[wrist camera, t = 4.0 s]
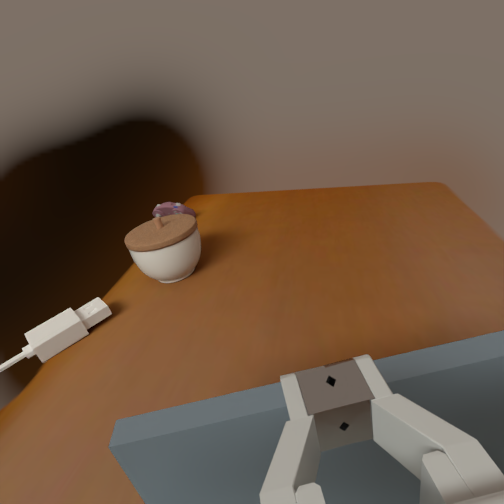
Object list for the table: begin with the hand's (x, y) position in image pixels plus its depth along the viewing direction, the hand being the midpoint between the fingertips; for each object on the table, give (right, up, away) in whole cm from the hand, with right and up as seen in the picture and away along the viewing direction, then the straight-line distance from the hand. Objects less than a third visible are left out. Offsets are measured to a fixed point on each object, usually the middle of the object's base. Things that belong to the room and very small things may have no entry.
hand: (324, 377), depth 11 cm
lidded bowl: (-16, 0, +51) cm, 54 cm away
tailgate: (+5, -12, +12) cm, 18 cm away
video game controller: (-22, +12, +76) cm, 80 cm away
